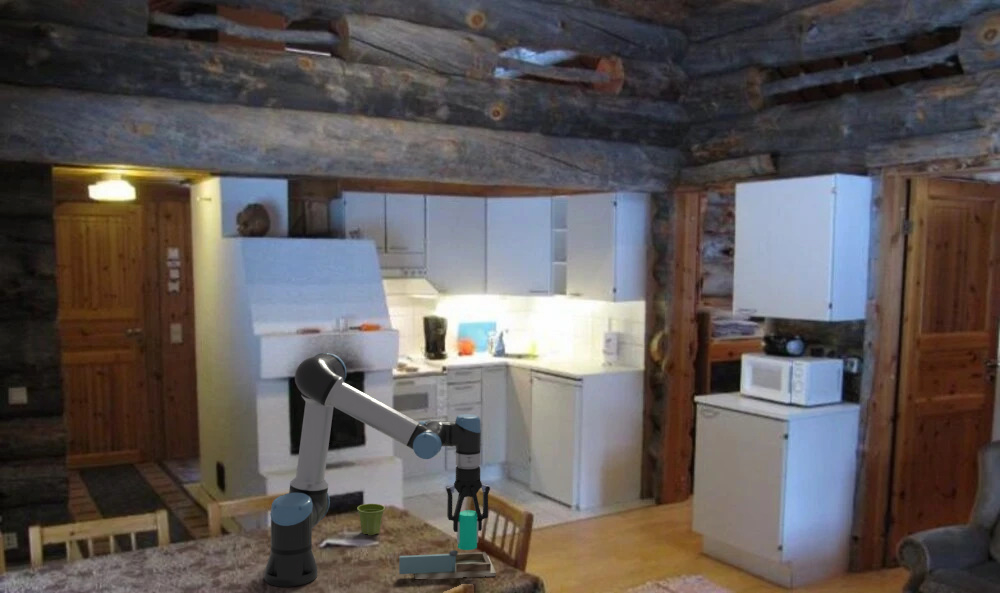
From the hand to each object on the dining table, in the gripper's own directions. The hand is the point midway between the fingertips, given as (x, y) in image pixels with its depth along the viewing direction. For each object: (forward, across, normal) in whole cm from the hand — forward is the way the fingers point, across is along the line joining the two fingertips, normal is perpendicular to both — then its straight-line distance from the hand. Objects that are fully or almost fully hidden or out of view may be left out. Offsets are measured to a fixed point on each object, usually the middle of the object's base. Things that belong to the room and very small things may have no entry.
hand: (467, 541), depth 249 cm
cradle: (+8, -4, 0) cm, 9 cm away
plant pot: (+8, -28, +36) cm, 47 cm away
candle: (+2, 0, 0) cm, 2 cm away
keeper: (+7, -12, -5) cm, 15 cm away
